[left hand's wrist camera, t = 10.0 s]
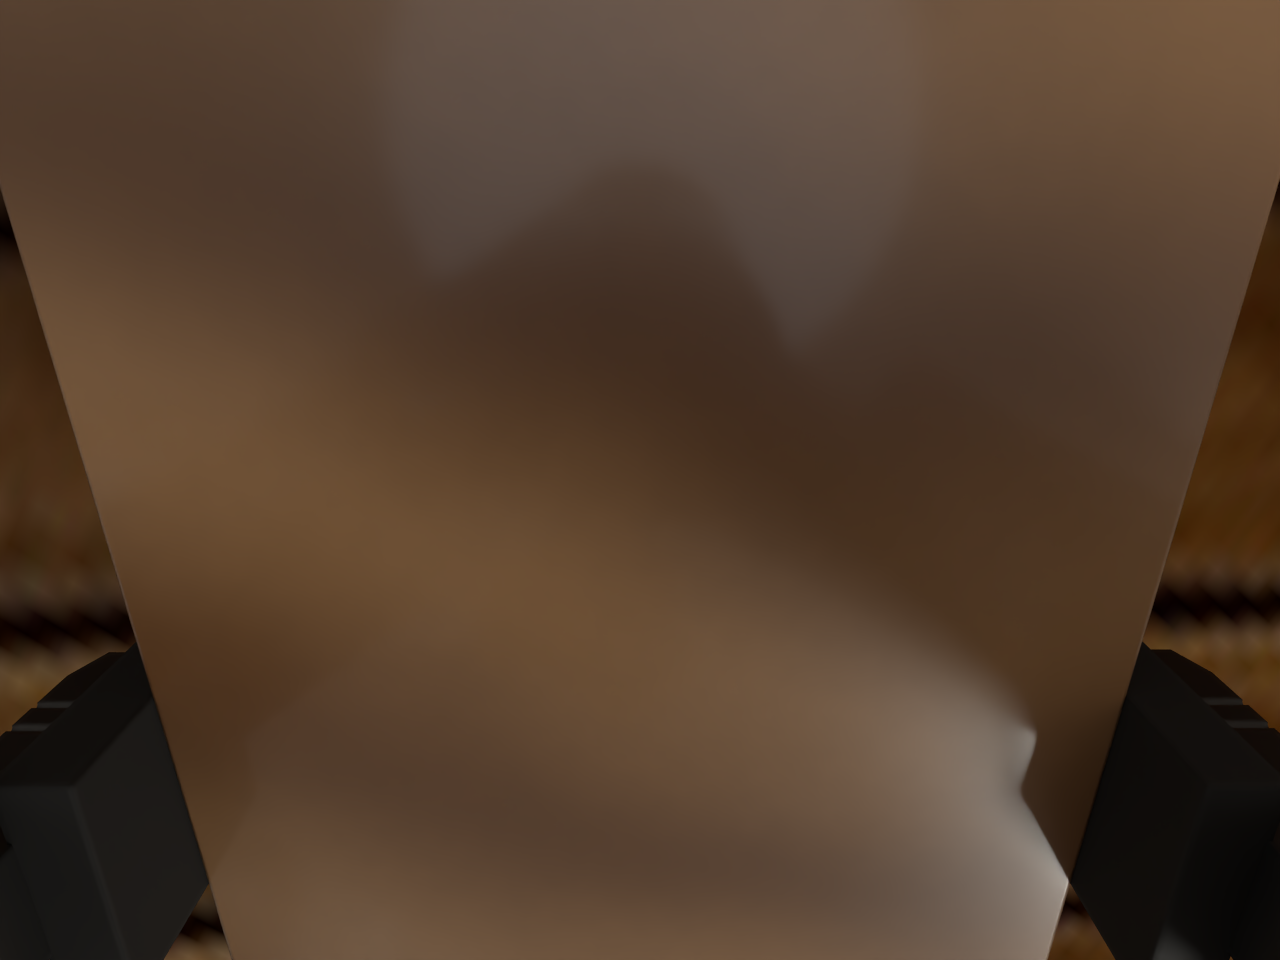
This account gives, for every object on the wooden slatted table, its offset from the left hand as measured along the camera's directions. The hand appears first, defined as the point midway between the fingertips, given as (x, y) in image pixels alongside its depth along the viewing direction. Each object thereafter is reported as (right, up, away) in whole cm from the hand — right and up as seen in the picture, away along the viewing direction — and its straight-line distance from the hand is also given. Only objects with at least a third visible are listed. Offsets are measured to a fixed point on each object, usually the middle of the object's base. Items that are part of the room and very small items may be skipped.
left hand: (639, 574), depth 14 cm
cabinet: (0, +7, 0) cm, 7 cm away
